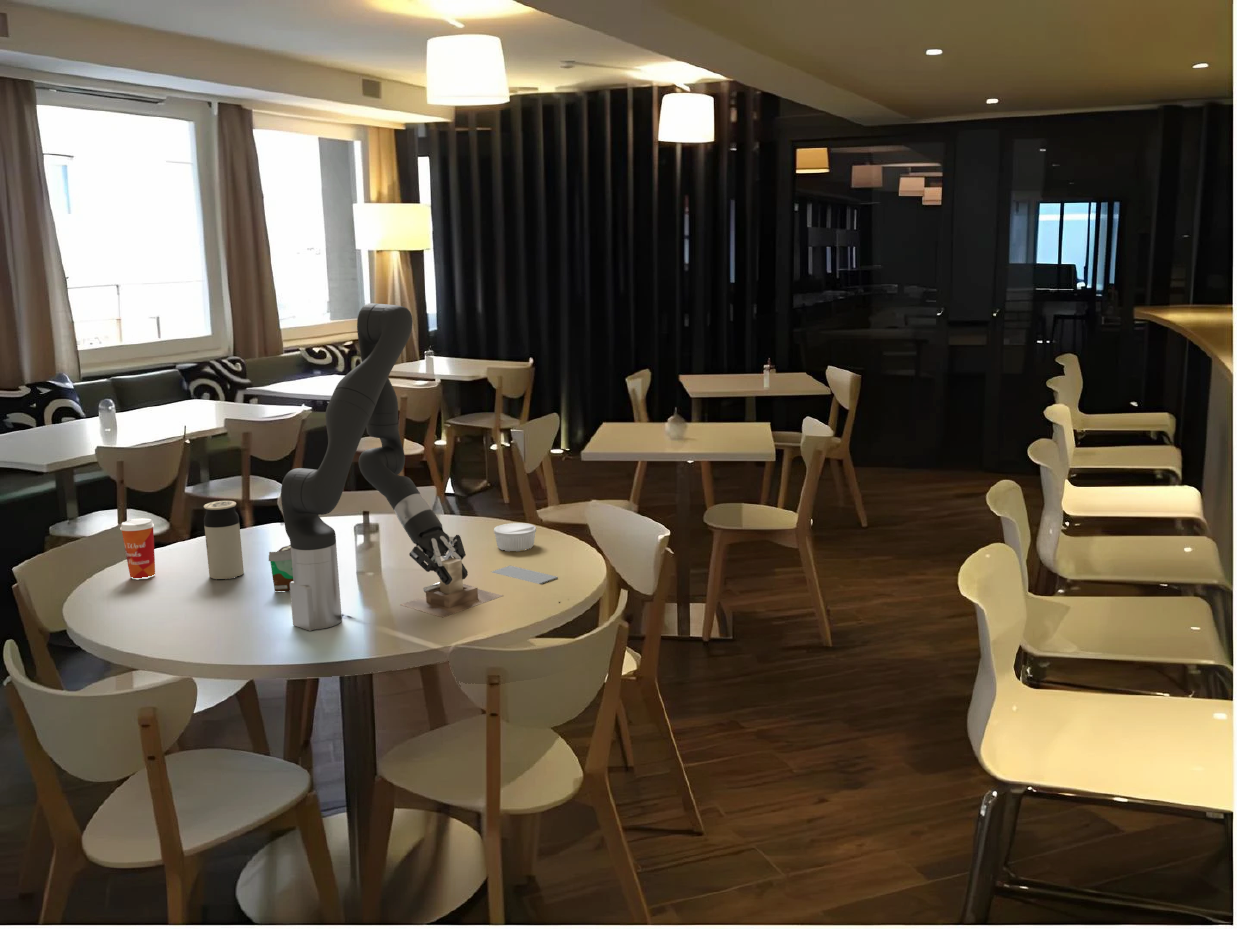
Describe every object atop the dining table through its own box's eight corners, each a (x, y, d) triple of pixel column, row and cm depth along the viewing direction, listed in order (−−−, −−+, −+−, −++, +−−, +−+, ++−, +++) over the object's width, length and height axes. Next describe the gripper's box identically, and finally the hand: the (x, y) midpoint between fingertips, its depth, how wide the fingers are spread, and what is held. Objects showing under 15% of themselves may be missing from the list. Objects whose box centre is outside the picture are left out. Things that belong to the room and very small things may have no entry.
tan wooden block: (450, 603, 236) (447, 564, 234) (440, 601, 238) (438, 562, 236) (463, 599, 239) (461, 560, 237) (454, 596, 241) (452, 557, 239)
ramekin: (527, 554, 277) (526, 534, 276) (487, 551, 281) (486, 532, 280) (543, 543, 288) (542, 524, 287) (504, 540, 291) (504, 521, 290)
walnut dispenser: (442, 621, 228) (441, 600, 227) (400, 609, 236) (398, 588, 235) (503, 599, 241) (502, 579, 240) (461, 588, 250) (460, 569, 249)
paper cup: (118, 580, 262) (112, 524, 259) (141, 571, 269) (135, 517, 266) (145, 582, 259) (139, 526, 257) (167, 573, 267) (161, 518, 264)
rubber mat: (503, 597, 242) (503, 596, 242) (455, 585, 253) (455, 583, 252) (557, 578, 256) (557, 576, 256) (510, 567, 266) (510, 565, 266)
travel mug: (248, 570, 268) (242, 500, 264) (236, 580, 260) (229, 507, 256) (217, 570, 268) (210, 500, 264) (204, 580, 260) (196, 508, 257)
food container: (295, 595, 247) (292, 553, 245) (271, 594, 249) (267, 552, 247) (320, 579, 259) (317, 539, 257) (297, 578, 260) (294, 538, 258)
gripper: (400, 515, 234) (440, 578, 229) (449, 502, 245) (488, 563, 239) (385, 535, 238) (425, 597, 233) (434, 522, 249) (473, 581, 244)
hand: (457, 579), depth 236 cm, fingers closed on tan wooden block, 4 cm apart
